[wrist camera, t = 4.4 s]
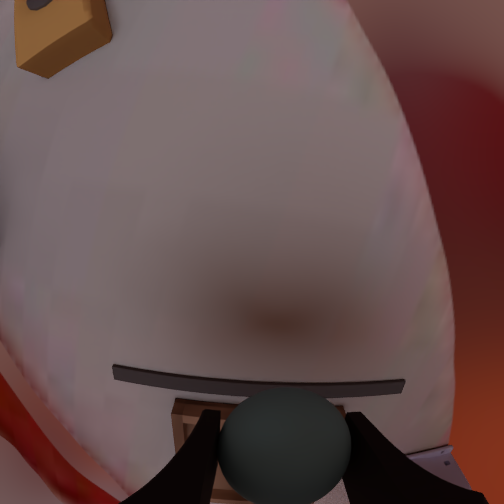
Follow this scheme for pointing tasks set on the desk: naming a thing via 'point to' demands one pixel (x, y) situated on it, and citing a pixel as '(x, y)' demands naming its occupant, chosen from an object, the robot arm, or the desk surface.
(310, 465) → the ball
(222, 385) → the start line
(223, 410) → the tray
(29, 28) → the rubber stamp
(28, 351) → the desk surface
